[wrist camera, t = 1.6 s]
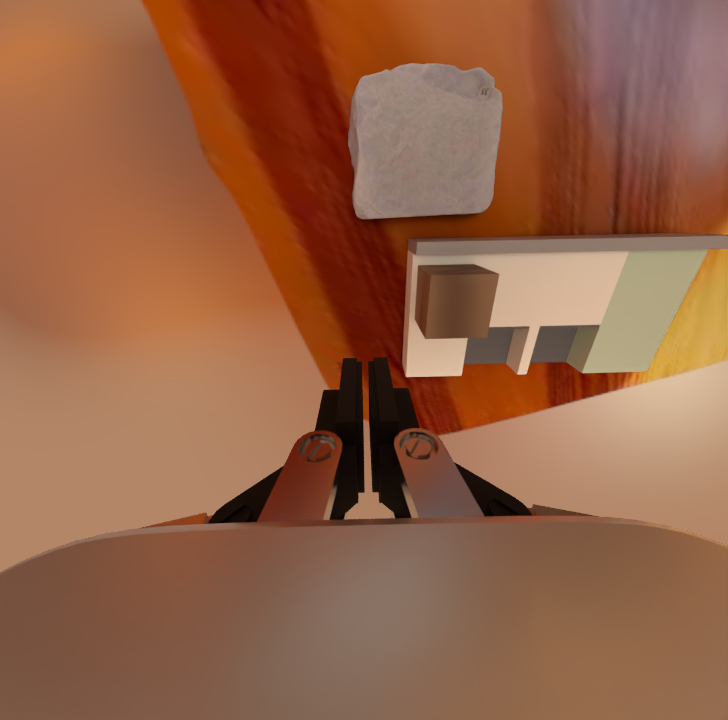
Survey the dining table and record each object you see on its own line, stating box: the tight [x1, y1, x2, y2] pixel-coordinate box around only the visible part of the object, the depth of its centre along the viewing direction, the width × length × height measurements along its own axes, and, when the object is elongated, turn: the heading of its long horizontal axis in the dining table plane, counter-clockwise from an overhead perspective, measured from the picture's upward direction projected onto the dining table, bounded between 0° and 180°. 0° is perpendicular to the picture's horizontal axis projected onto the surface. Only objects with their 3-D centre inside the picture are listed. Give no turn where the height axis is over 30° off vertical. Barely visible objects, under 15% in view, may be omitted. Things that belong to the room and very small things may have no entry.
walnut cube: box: [414, 264, 499, 339], centre depth 24 cm, size 5×5×5 cm
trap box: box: [402, 233, 728, 377], centre depth 28 cm, size 26×14×4 cm, turn 91°
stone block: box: [348, 63, 503, 219], centre depth 22 cm, size 12×5×10 cm
